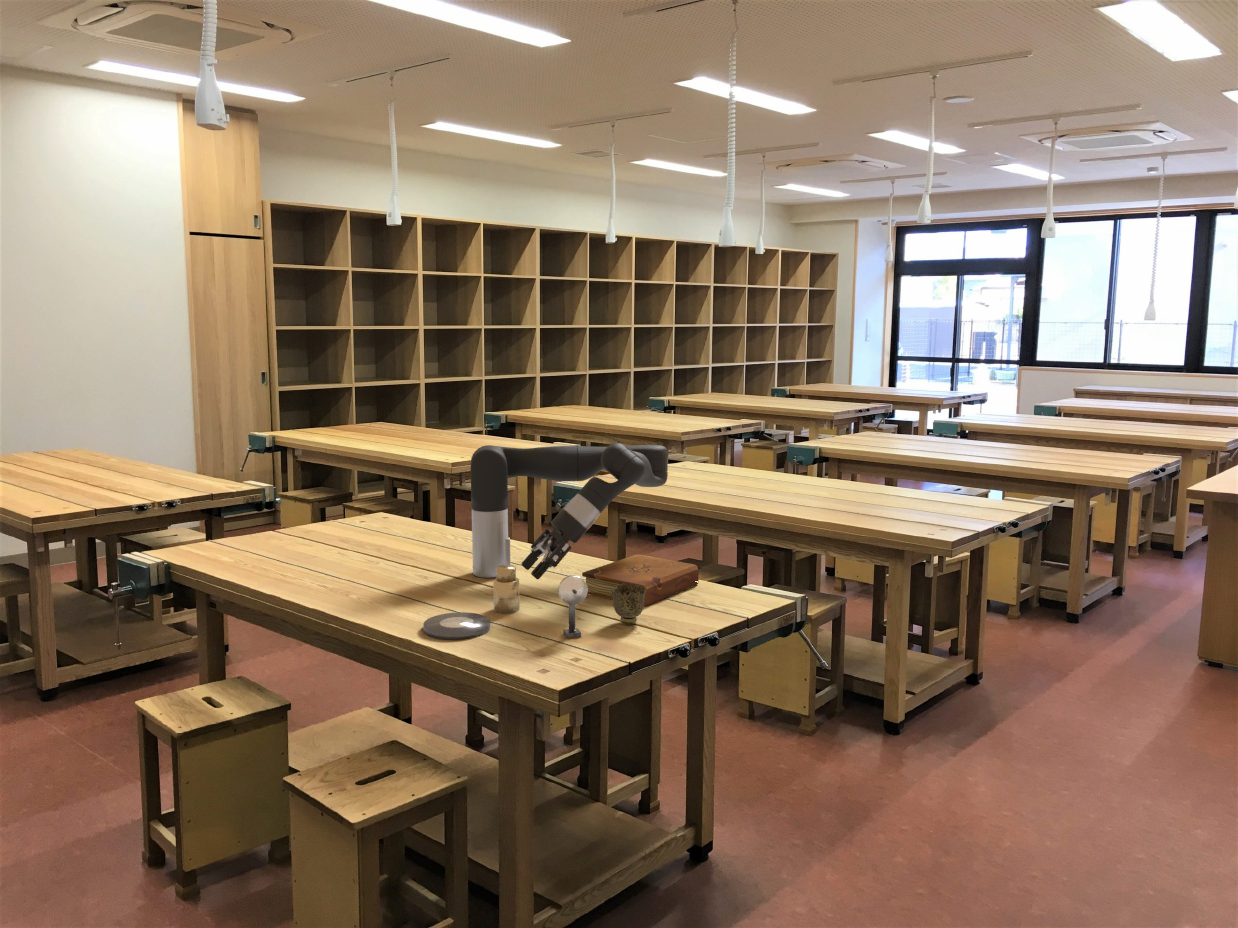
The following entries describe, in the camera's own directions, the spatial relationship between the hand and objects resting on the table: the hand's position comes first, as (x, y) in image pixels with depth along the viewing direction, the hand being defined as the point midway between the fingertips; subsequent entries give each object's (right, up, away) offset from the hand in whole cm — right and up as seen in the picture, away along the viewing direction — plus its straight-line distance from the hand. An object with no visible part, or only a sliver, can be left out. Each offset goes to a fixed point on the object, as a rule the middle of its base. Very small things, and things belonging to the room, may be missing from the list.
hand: (529, 572), depth 215 cm
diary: (+26, -7, +18) cm, 32 cm away
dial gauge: (+11, -11, -17) cm, 23 cm away
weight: (-5, -9, +1) cm, 10 cm away
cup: (+23, -10, -8) cm, 26 cm away
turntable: (-14, -11, -13) cm, 22 cm away
